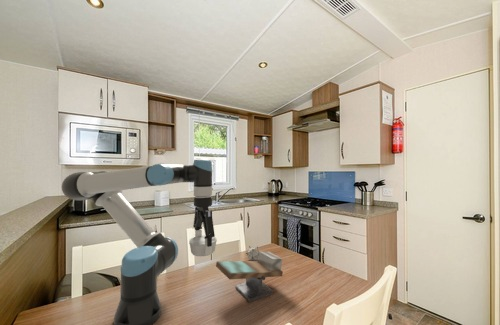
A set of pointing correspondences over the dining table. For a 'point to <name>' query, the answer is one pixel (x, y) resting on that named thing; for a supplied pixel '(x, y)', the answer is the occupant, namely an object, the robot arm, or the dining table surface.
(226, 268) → the beam
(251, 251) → the grey lumpy piece
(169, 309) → the dining table surface
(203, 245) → the ramekin
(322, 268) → the dining table surface
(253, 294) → the fulcrum
